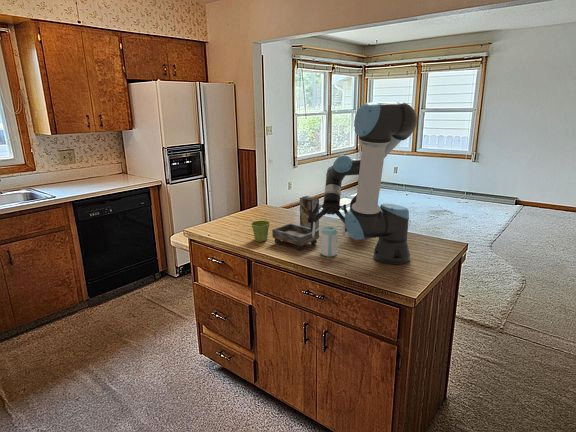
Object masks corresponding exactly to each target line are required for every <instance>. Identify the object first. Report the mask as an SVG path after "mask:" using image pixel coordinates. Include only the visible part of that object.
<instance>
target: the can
mask: <svg viewBox="0 0 576 432" xmlns="http://www.w3.org/2000/svg"><path fill="white" fill-rule="evenodd" d="M320 234H321V235H320V253H321V255H322V256H324V257H331V258H332V257H335V256H336V255H337V254H338V231H337V229H336V227H334V226H325V227H324V226H323V228H322V230H321V231H320Z"/></svg>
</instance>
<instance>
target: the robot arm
mask: <svg viewBox="0 0 576 432" xmlns="http://www.w3.org/2000/svg"><path fill="white" fill-rule="evenodd" d="M417 124H418V117H417V113H416V111H415V109H414V108H413V106H411V105H410V104H408V103H406V102H402V101H395V102H393V101H391V102H390V101H385V102H384V101H379V102H378V101H373V102H366V103H364V104H361V106H359V108H358V109H357V111H356V113H355V117H354V122H353V127H354V132H355V134H356V135H357V136H358V140H359V141H360V143H361V144H362V145H361V154H360V157H359V158H351V157H350V156H348V155H345V154H341V155H339V156H338V157H337V158H336V159H335V160H334V162H333V164H332V165H331V166H328V168H327V170H326V173H325V176H326V177H325V185H324V186H325V187H324V195H323V203H322V204H320V202H319V203H317V204H316V208H315V209H314V210H313V212H312V213H311V215H310V216H309V217H308V219H307V220H308V223H311V227H310V228H311V230H312V237H314V235H315V230H316V228H315V227H316V224H315V222H317V221H318V220H319V221H320V219H321V218H322V217H324V216H325V215H331V216H332V215H333V216H334V215H336V216H337V217H338V218H339V219H340V220H341V221H342V223H343V229H342V239H343V240H345V239H346V233H347V234H348V235H349V237H350V238H351V239H353V240H365V239H366V240H367V239H374V238H375V239H376V238H378V241H377V242H376V245H375V248H374V250H373V258H374V260H376V261H378V262H379V263H383V264H388V265H403V264H406V263H408V262H410V260H411V252H410V248H409V244H408V232H409V231H408V230H409V220H410V211H409V208H407V207H405V206H403V205H400V204H393V203H381V204H380V205H379V197H380V192H381V191H380V190H381V184H382V176H383V169H384V163H385V162H384V160H385V158H386V157H388V155H389V154H390V153H392V151H393V150H394V149H395V148H396V147H397V146H398V144H400V143H401V142H402V141H405V140H407V139H408V138H409V137H410V136H411V135H412V134H413V133H414V131H415V130H416V128H417ZM346 176H348V177H349V176H358V181H357V188H356V189H357V190H356V195H357V197H356V202H355V203H354V204H352V208H351V212H350V210H349V211H348V209H347V205H346V204H343V205H341V192H342V183H343V181H344V179H345V177H346ZM318 210H319V214H318V215H316V214H317V212H318ZM320 210H321V211H320ZM340 210H342V211H343V212H344V215H343V214H342V213H341V211H340ZM315 215H316V216H315ZM314 216H315V217H314Z"/></svg>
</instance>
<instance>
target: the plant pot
mask: <svg viewBox="0 0 576 432" xmlns="http://www.w3.org/2000/svg"><path fill="white" fill-rule="evenodd" d="M270 225H271V222H270V221H268V220H262V219H260V220H256V221H255V220H254V221H252V222H251V223H250V226H251V227H252V231H253V237H254V240H255V241H256V242H260V243H262V242H265V241H268V235H269V228H270Z"/></svg>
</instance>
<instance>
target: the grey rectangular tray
mask: <svg viewBox="0 0 576 432" xmlns="http://www.w3.org/2000/svg"><path fill="white" fill-rule="evenodd" d="M271 230H272V231H271V232H272V237H271V238H274V242H275V244H276V245H278V244H279V245H280V244H281V242H282V241H283V242H286V243H290V244H292V245H295V246H296V249H297V251H299V252H300V251H302V250H304V246H305V245H308V244H311V245H317V243H318V241H317V240H319V237H320V230H319V229H315V235H314V237H312V230H311V228H307V227H303V226H300V224H295V223H292V222H290V223H288V224H284V225H282V226H279V227H276V228H272V229H271Z"/></svg>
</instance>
